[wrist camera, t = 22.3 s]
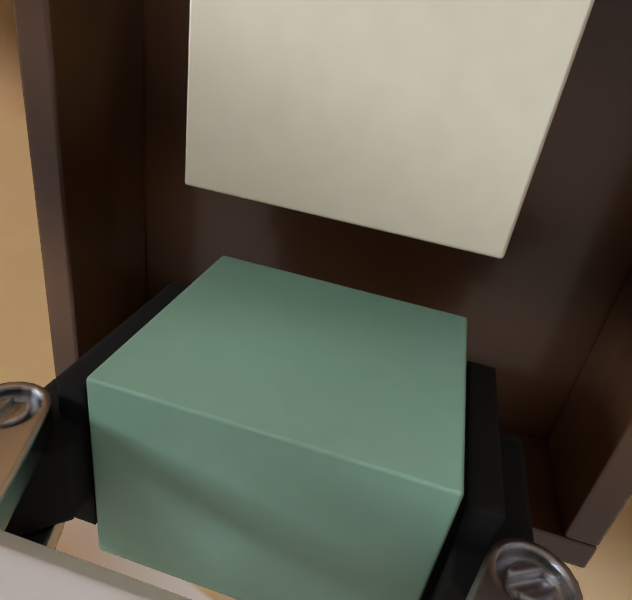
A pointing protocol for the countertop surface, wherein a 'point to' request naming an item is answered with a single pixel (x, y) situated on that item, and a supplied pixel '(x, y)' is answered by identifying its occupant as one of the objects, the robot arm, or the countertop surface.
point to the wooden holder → (352, 237)
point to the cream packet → (380, 108)
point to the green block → (282, 438)
